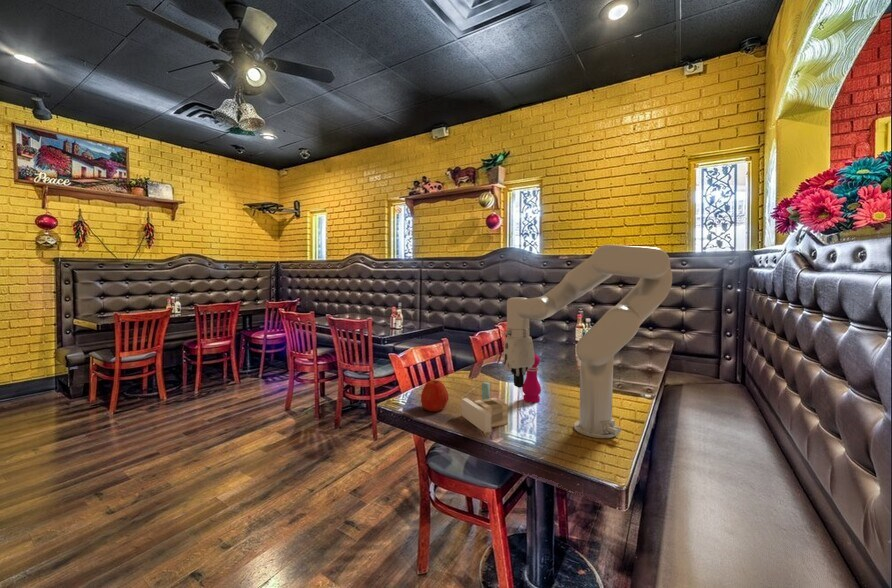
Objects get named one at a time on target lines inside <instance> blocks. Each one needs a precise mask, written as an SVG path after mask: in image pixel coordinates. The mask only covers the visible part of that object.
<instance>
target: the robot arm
mask: <svg viewBox="0 0 892 588" xmlns="http://www.w3.org/2000/svg"><path fill="white" fill-rule="evenodd" d="M612 276H620V277H628V278H629V277H630V278H639V280H638V281H637V283H636V284H635V286H634V287H632V289H631V290H630V291H629V292H628V293H627V294H626V295H625V296H624V297H623V298H622V299H620V301H619V302H618V303H617V304H615V306H613V307H611V308H610V309H608V310H607V311H606V312H605V313H604V314H603V315H602V316H601V318H599V319H598V321H596V323H594V324H593V326H591V328H589V329H588V331H587V332H586V333H584V334H583V336H581V338H579V340H578V341H577V343H576V347H575V352H576V353H575V354H576V356H577V358H578V360H579V361H580V362H579V363H580V365H579V420H577V421H575V422H574V423H573V428H574V430H575V431H576V432H577V433H578V434H581V435H583V436H585V437H590V438H595V439H611V438H614V437H618V436H620V433H621V432H622V428H621V427H619V426H616V419H613V387H614V386H613V383H614V357H615V355H616V354H617V353H618V352H619V351H620V350H621V349H622V348H624V346H626V345H627V344H628V343H629V342H630V341H631V340H632V339H633V338H634V337H635V336H636V334H637V333H638V331H639V329H640V326H641V325H642V324H643V323H644V321H645V320H647V318H648V317H650V315H652V314H653V312H654V311H656V310H657V308H658V307H659V306H660V305H661V304H662V303H663V302H664V301H665V300H666V298H667V297H668V296H669V294H670V291H671V290H672V289H671V288H672V285H673V271H672V267H671V259H670V255H668V254H667V252H666V251H664V250H663V249H661V248H659V247H654V246H653V247H652V246H651V247H650V246H634V245H633V246H632V245H619V244H618V245H617V244H603V245H601V246H599V247H598V248H596V249H595V250H594V251H593V253H592V255H591V256H589V257H588V258H587V259H585V260H584V261H581V263H579V264H578V265H576V266H575V267H574V268H572V269H571V270H570V271H568V272H567V273H566V274H565V275H564V277H563V279H562V280H561V281H560V282H559V283H558V284H557V285H555V286H554V287H553V288H552V289H550V290H549V291H547V292H546V293H545V294H543V295H541V296H537V297H530V298H527V297H524V296H523V297H517V296H516V297H510V298H509V297H508V299H507V300H506V330H505V331H504V335H505V336H507V337H505V340H504V346H503V364H504V371H505V372H510V373H512V375H513V385H514V386H515V387H516V388H519V389H520V388H522V387H523V384H524V381H525V378H524V376H525V375H526V373H527V372H526V371H527V369H530V368H532V365H534V354H535V349H534V348H535V347H534V342H533V338H532V336H530V320H532V321H542V320H545V319H547V318H550V317H552V316H554V315H555V314H556V313H557V312H559V311H561V310H562V309H563V308H566V307H567V306H568V305H570V304H572V302H575V300H577V299H579V298H581V297H582V296H584V295H586V294H587V293H588V292H590V291H592V290H593V289H594V288H596V287H597V286H599V285H600V284H602V283H603V282H605V281H606V280H608V279H610V278H611V277H612Z"/></svg>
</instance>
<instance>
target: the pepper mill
mask: <svg viewBox="0 0 892 588" xmlns="http://www.w3.org/2000/svg"><path fill="white" fill-rule="evenodd" d="M540 361H541V360H540V357H539V355H537V354H535V353H534V365H532V368H530V369H527V371H526V372H525V373H526V374H525V375H526V376H525V378H524V383H523V387H521V388H522V389H521V390H522V393H523V395H522V396H523V399H522V400H523V401H524V402H525V401H526V403H528V402H532V403H531V404H534V403H533V402H537V403H539V402H541V401H540V399H541V398H540V397H541V396H540V394H541V393H542V387H541V384H540V382H539V379H538V371H539V365H540Z"/></svg>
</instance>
